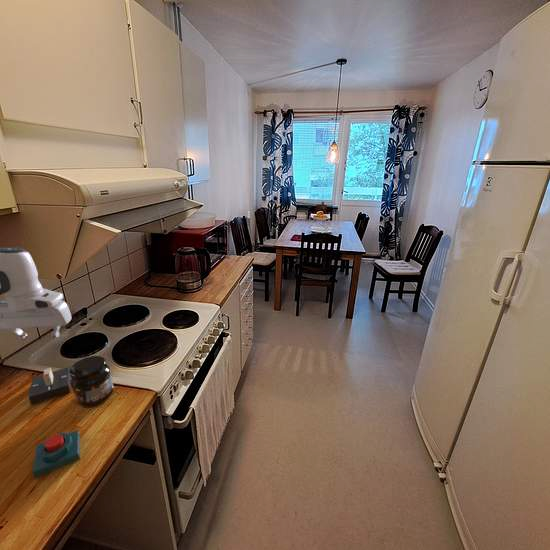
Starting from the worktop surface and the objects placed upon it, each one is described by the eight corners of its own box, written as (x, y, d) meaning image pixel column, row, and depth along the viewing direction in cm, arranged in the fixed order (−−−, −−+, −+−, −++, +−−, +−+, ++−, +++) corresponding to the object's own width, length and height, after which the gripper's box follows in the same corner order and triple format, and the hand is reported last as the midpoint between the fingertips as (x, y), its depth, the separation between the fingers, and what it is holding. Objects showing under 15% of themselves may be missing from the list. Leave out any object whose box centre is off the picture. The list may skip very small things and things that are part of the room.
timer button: (45, 454, 69) (43, 449, 69) (47, 443, 72) (45, 438, 71) (63, 447, 71) (62, 442, 71) (64, 436, 74) (62, 431, 73)
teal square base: (35, 478, 68) (30, 467, 66) (38, 451, 74) (34, 440, 72) (80, 459, 72) (76, 448, 71) (80, 435, 78) (76, 424, 77)
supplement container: (81, 387, 94) (72, 358, 90) (116, 380, 98) (109, 351, 93) (72, 412, 85) (62, 381, 81) (112, 403, 89) (104, 372, 84)
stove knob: (47, 377, 94) (44, 368, 93) (53, 375, 95) (50, 366, 94) (46, 386, 91) (42, 377, 89) (52, 384, 91) (49, 375, 90)
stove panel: (31, 404, 88) (28, 397, 86) (35, 384, 95) (32, 377, 94) (70, 392, 93) (67, 384, 91) (70, 373, 100) (68, 366, 99)
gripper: (-21, 305, 82) (-4, 345, 87) (56, 302, 85) (68, 341, 90) (-4, 295, 88) (11, 333, 93) (68, 293, 90) (78, 330, 96)
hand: (39, 337), depth 91 cm, fingers open, 8 cm apart
